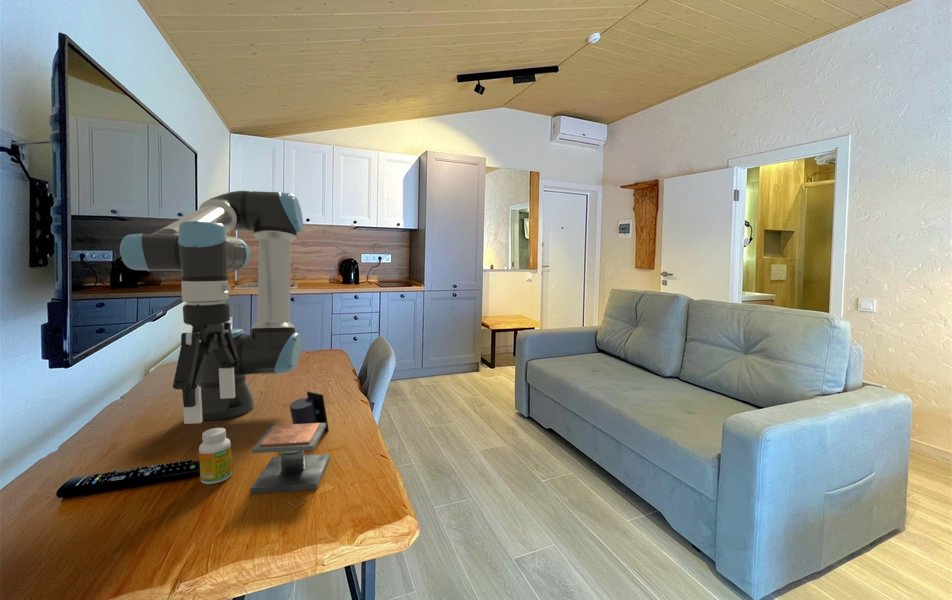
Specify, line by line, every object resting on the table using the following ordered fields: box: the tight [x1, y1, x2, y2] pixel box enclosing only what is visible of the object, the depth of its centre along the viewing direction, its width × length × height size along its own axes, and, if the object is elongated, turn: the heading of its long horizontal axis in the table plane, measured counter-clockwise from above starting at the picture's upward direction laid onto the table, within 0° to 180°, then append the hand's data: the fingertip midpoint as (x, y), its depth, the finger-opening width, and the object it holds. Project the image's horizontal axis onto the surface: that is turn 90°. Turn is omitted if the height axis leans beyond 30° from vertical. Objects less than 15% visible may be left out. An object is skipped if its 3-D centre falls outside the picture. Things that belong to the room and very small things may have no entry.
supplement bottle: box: [198, 427, 233, 485], centre depth 81 cm, size 5×5×10 cm
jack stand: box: [249, 423, 331, 495], centre depth 82 cm, size 12×12×9 cm
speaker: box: [289, 390, 330, 432], centre depth 102 cm, size 8×6×10 cm
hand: (212, 409), depth 80 cm, fingers open, 13 cm apart
